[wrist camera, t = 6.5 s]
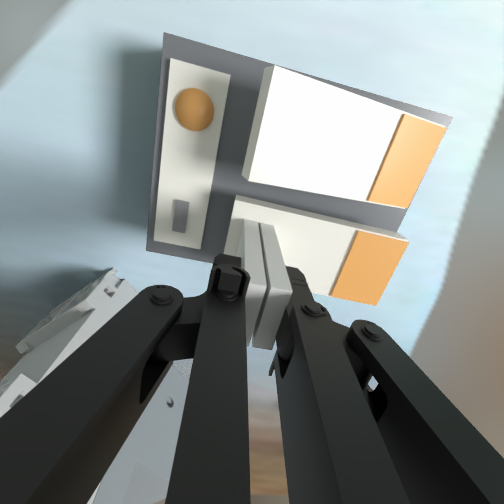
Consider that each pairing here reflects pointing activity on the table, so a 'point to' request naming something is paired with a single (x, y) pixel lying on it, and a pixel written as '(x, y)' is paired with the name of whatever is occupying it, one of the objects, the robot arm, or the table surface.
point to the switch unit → (226, 152)
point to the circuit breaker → (150, 422)
